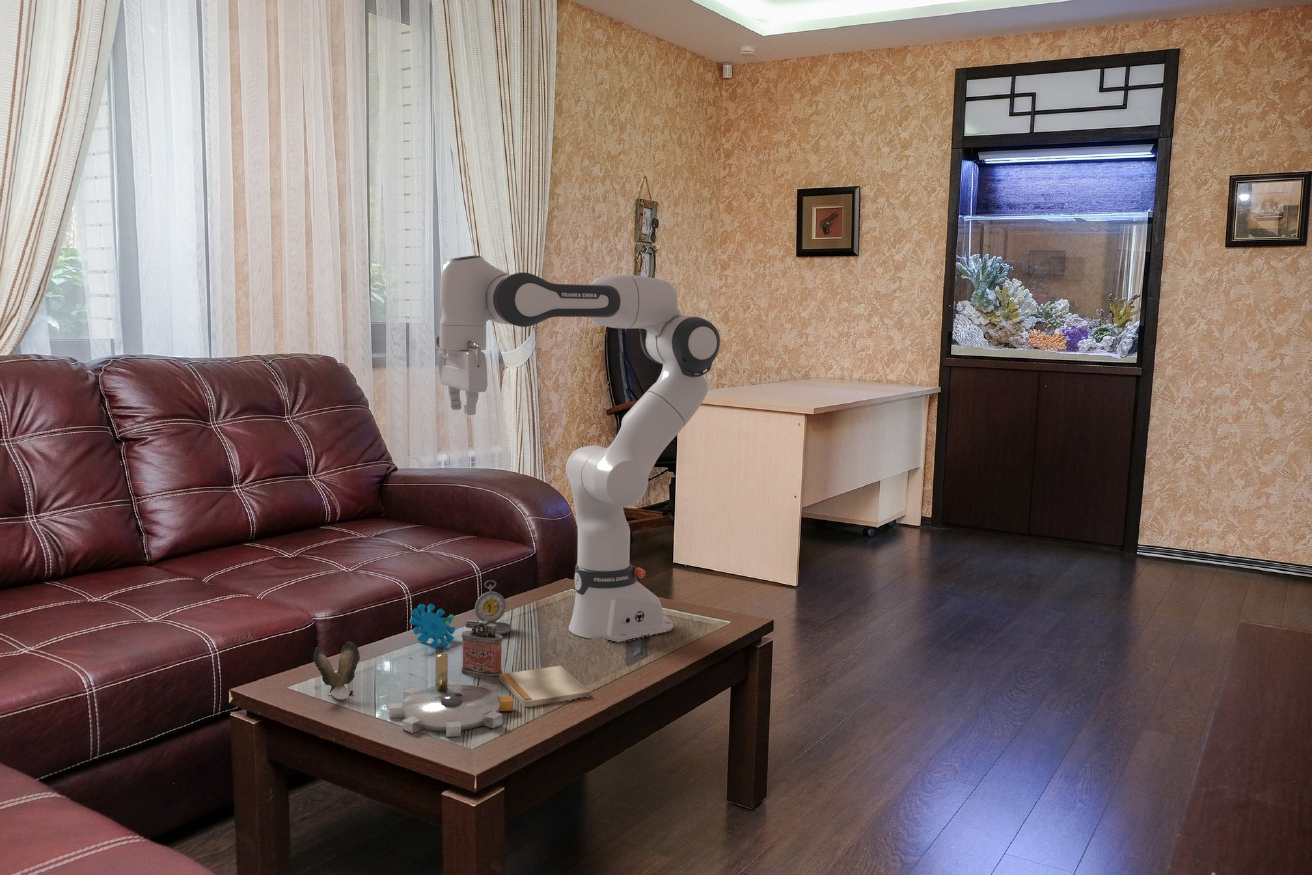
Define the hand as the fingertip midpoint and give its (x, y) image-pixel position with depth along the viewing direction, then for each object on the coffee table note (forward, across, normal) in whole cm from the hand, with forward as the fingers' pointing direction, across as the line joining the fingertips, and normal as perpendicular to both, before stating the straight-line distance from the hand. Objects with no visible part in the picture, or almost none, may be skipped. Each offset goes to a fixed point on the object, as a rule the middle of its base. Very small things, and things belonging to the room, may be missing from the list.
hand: (462, 412), depth 197 cm
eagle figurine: (+47, -19, +27) cm, 58 cm away
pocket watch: (+47, +6, -9) cm, 48 cm away
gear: (+48, 0, +4) cm, 48 cm away
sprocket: (+47, -34, +12) cm, 59 cm away
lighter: (+47, -18, +2) cm, 50 cm away
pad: (+47, -29, -6) cm, 55 cm away
